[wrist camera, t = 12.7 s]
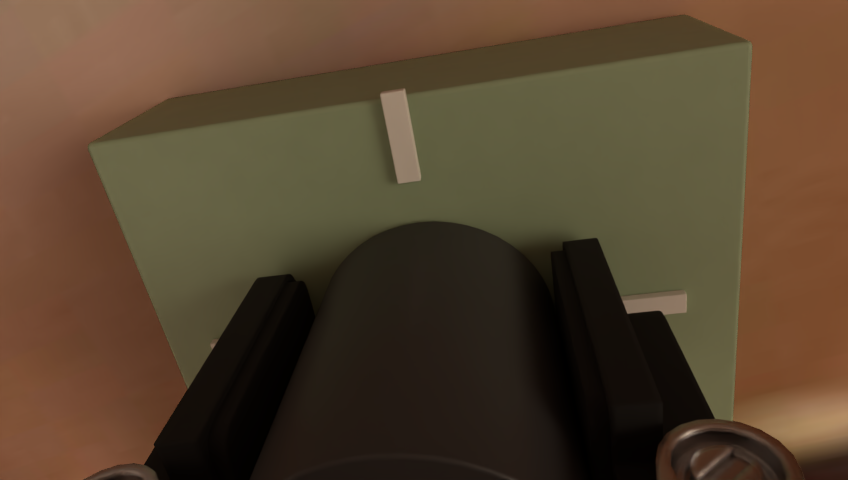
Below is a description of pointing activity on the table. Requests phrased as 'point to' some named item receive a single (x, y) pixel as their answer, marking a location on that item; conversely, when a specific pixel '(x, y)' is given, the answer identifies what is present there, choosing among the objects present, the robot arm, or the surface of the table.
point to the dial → (429, 369)
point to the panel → (456, 176)
